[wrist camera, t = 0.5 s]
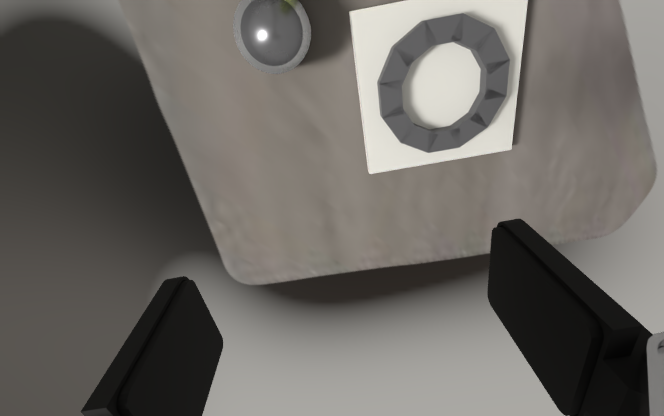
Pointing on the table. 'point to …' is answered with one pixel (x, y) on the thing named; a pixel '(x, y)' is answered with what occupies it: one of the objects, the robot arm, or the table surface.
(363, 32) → the mounted pipe fitting
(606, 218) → the table surface
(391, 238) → the table surface
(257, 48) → the cap
